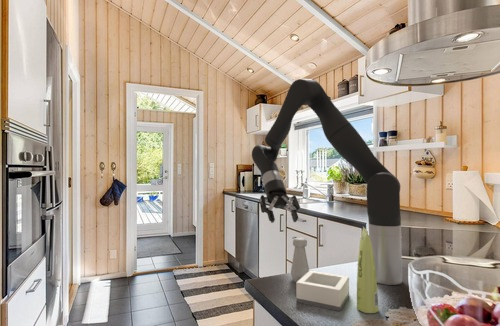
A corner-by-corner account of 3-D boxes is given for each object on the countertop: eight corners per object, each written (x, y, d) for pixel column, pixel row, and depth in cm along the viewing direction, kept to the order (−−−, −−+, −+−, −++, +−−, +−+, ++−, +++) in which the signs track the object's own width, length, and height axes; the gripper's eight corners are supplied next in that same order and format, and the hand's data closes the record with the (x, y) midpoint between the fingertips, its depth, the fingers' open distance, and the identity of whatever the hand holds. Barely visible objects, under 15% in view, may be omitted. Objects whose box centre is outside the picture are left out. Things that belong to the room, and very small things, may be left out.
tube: (350, 306, 75) (349, 227, 76) (364, 302, 78) (363, 225, 78) (368, 316, 70) (367, 231, 71) (383, 311, 73) (382, 229, 73)
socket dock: (309, 288, 88) (309, 270, 88) (349, 295, 82) (348, 276, 83) (296, 302, 78) (296, 282, 78) (340, 311, 73) (339, 290, 73)
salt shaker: (297, 276, 98) (296, 235, 98) (313, 280, 94) (312, 237, 95) (287, 281, 93) (287, 238, 94) (303, 285, 90) (303, 241, 90)
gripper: (258, 178, 111) (268, 215, 100) (294, 178, 115) (307, 214, 105) (253, 191, 116) (262, 227, 106) (287, 191, 121) (299, 226, 110)
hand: (284, 221), depth 105 cm, fingers open, 8 cm apart
